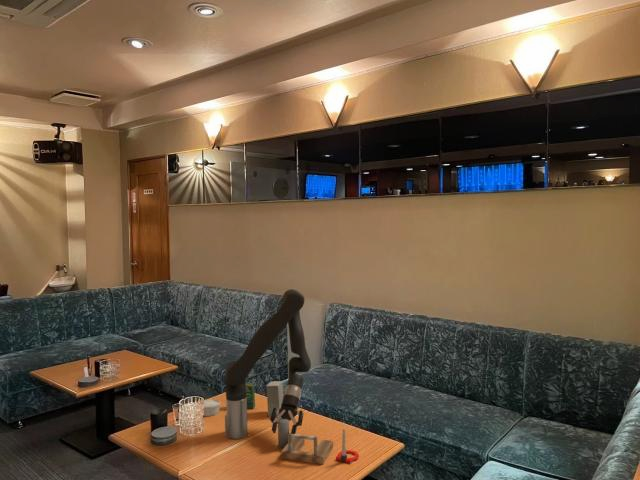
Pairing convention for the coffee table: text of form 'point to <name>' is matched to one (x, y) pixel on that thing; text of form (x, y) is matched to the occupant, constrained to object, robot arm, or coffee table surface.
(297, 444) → the wooden gate frame
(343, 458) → the tow hook
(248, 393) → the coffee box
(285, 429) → the grey tapered capsule
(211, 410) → the ramekin
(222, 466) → the coffee table surface
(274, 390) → the skincare box
